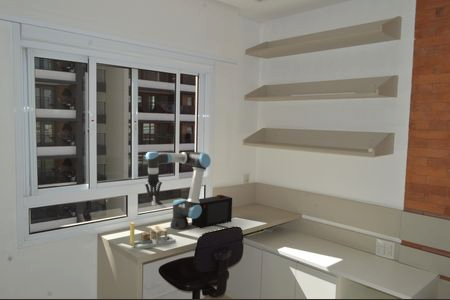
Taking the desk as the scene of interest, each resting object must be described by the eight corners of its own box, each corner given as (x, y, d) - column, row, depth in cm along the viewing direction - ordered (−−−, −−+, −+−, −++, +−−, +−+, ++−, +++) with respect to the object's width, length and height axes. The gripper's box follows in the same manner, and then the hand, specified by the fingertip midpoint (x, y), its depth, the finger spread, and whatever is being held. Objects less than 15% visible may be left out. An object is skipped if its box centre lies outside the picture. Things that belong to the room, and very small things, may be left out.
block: (147, 238, 247) (147, 231, 246) (150, 240, 243) (150, 233, 242) (140, 239, 244) (140, 232, 243) (143, 241, 240) (143, 235, 239)
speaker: (190, 224, 296) (190, 197, 294) (220, 217, 320) (221, 192, 318) (200, 228, 285) (201, 200, 283) (231, 221, 308) (232, 195, 306)
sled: (148, 239, 248) (149, 219, 247) (152, 242, 243) (152, 221, 242) (129, 242, 240) (129, 221, 239) (132, 245, 234) (133, 224, 233)
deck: (168, 237, 260) (168, 234, 260) (175, 242, 251) (175, 239, 251) (131, 244, 244) (131, 241, 244) (137, 249, 234) (137, 246, 234)
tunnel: (159, 236, 256) (160, 225, 256) (166, 241, 247) (167, 229, 246) (149, 238, 252) (150, 227, 251) (156, 243, 242) (156, 231, 241)
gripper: (159, 171, 252) (159, 202, 255) (142, 173, 245) (142, 205, 247) (163, 173, 246) (163, 205, 249) (146, 174, 239) (147, 207, 241)
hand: (153, 205), depth 248 cm, fingers closed
